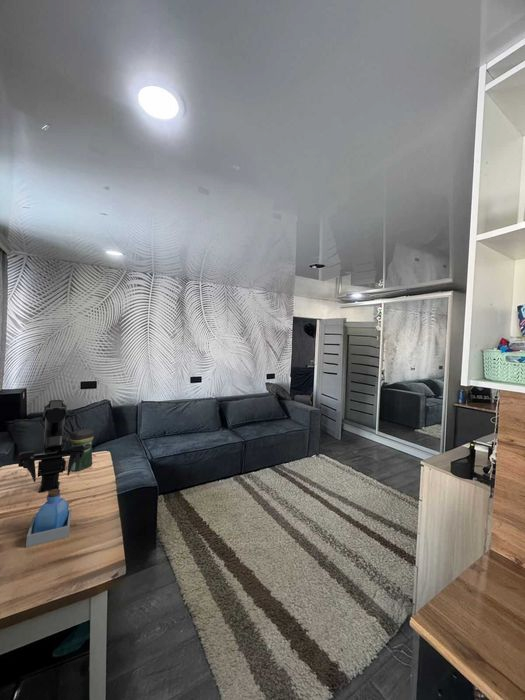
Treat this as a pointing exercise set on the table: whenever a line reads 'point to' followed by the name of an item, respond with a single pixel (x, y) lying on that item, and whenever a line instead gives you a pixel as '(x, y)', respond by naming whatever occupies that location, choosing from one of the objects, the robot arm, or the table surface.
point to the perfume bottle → (52, 513)
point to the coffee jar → (85, 439)
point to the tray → (47, 533)
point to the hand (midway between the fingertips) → (51, 478)
